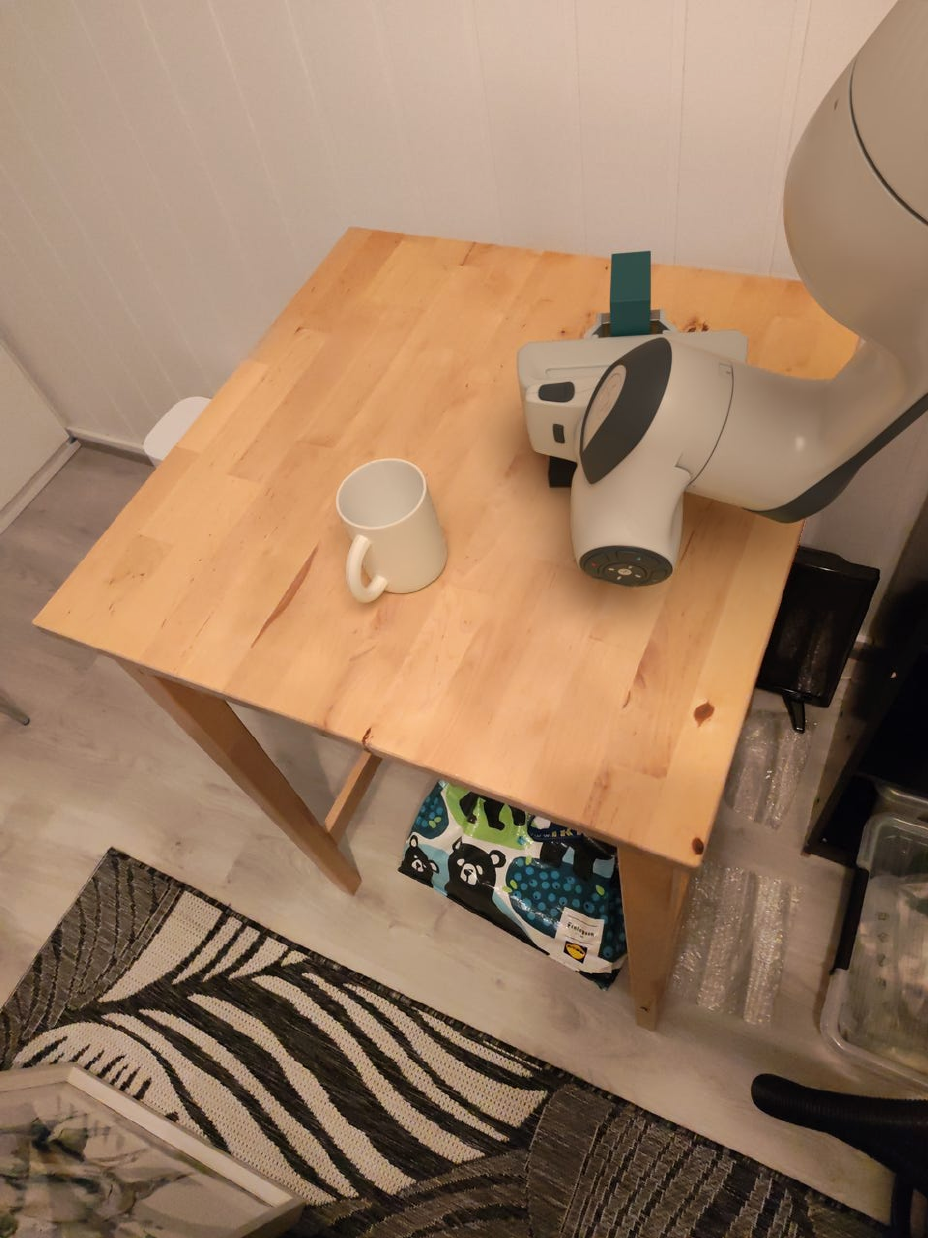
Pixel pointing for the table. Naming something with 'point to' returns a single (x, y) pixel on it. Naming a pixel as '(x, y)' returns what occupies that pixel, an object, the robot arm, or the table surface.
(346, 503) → the mug
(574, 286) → the table surface
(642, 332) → the back pad
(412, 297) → the table surface
